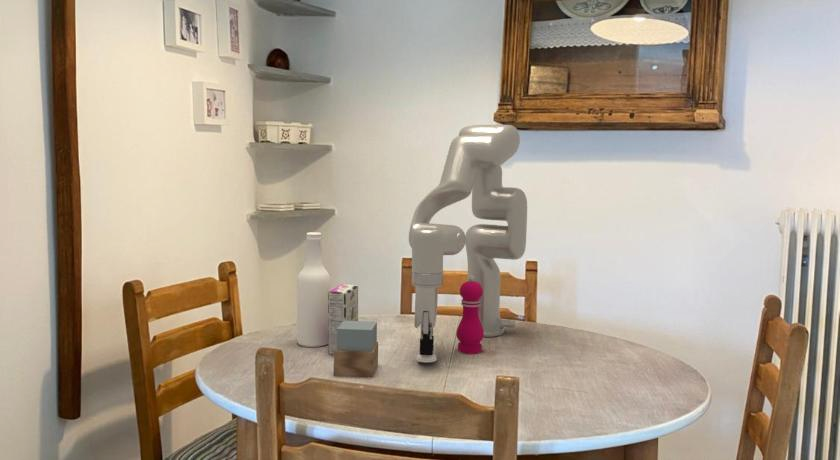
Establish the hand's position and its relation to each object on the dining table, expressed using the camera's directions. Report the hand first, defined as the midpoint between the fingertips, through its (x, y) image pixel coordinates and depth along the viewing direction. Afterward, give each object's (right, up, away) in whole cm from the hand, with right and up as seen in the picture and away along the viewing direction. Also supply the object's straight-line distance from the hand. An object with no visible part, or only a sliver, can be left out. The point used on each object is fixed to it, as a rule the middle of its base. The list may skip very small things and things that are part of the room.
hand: (426, 352), depth 158 cm
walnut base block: (-17, -3, -6) cm, 18 cm away
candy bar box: (-22, -2, +11) cm, 24 cm away
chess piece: (0, -2, 0) cm, 2 cm away
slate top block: (-16, +3, -7) cm, 18 cm away
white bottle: (-30, -1, +16) cm, 35 cm away
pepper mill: (+11, -2, +12) cm, 17 cm away
